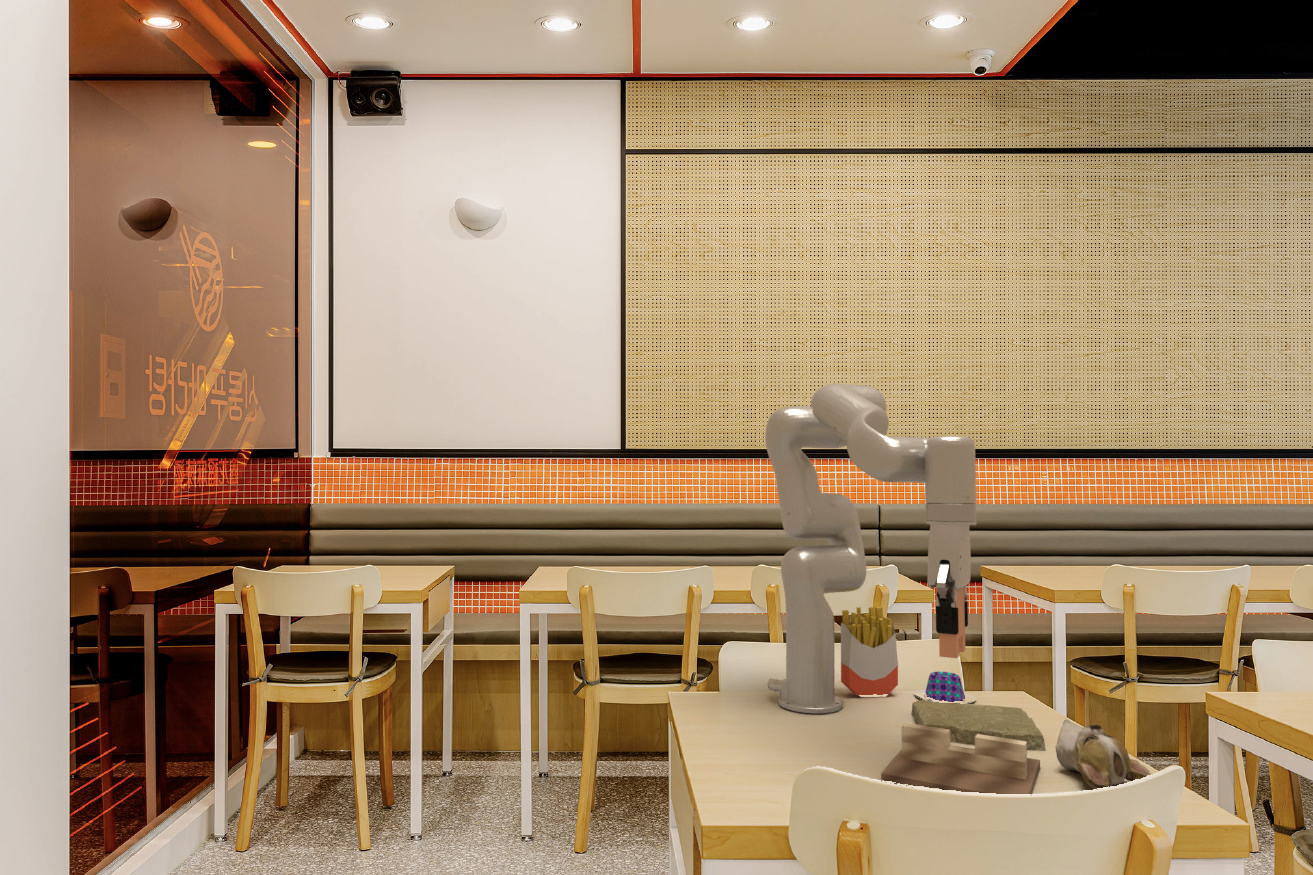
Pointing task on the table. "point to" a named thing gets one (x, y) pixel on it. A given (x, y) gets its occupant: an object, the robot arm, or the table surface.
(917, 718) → the decorative tile
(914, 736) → the slotted stand
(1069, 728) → the ceramic sculpture
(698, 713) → the table surface
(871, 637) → the french fries container
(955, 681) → the pudding
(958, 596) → the notched plate
